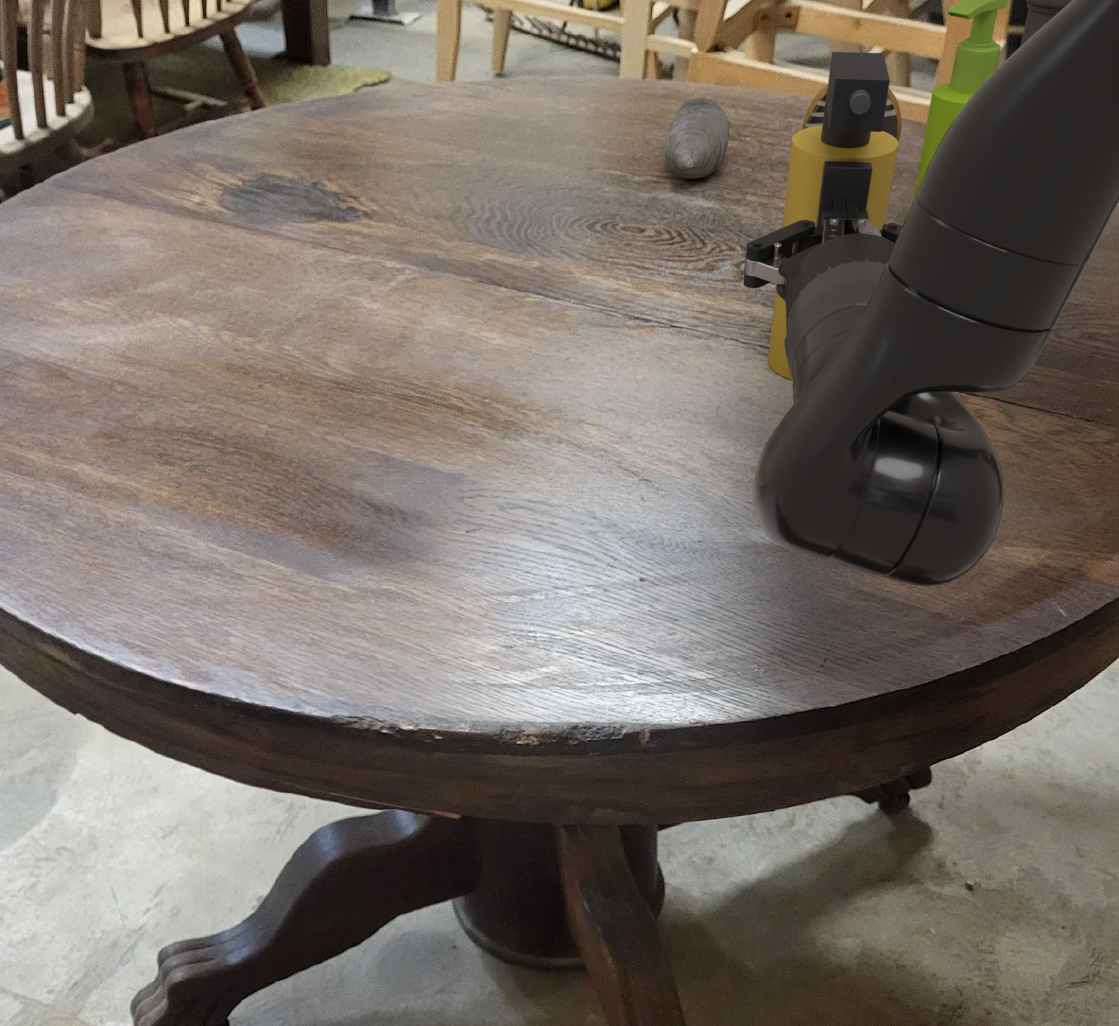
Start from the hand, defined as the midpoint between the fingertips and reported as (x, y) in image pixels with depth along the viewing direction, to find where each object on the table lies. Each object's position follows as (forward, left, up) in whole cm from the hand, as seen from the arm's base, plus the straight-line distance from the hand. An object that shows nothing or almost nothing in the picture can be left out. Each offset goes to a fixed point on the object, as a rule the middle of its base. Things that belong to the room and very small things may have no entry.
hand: (842, 215), depth 79 cm
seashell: (+11, -47, -13) cm, 50 cm away
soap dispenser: (-11, -28, -13) cm, 33 cm away
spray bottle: (0, -3, -13) cm, 13 cm away
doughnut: (-4, -47, -13) cm, 49 cm away
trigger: (0, -1, -3) cm, 3 cm away
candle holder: (-18, -36, -13) cm, 42 cm away
